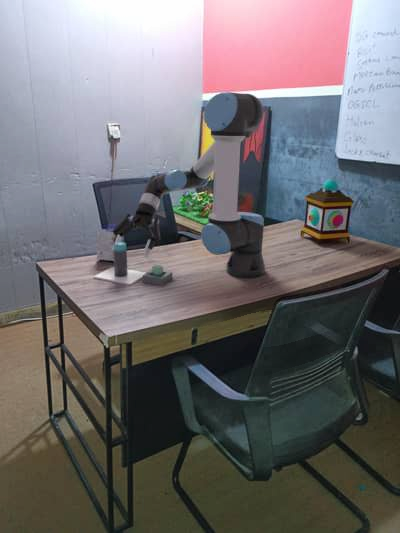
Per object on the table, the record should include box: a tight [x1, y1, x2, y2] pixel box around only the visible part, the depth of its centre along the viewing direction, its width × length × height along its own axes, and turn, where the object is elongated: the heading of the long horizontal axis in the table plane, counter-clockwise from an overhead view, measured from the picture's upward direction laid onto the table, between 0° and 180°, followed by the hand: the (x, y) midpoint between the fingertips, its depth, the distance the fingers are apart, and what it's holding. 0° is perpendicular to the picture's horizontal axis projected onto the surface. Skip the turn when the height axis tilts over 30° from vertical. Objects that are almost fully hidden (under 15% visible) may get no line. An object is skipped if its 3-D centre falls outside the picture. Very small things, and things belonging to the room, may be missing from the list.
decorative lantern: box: [300, 178, 355, 247], centre depth 210 cm, size 20×20×30 cm
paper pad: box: [93, 266, 147, 286], centre depth 162 cm, size 16×12×1 cm
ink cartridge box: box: [96, 223, 125, 262], centre depth 177 cm, size 10×6×14 cm, turn 78°
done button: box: [151, 264, 164, 277], centre depth 158 cm, size 4×4×3 cm
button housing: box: [142, 269, 173, 286], centre depth 159 cm, size 8×8×2 cm
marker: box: [113, 242, 128, 277], centre depth 160 cm, size 5×5×12 cm
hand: (129, 253), depth 165 cm, fingers open, 13 cm apart
